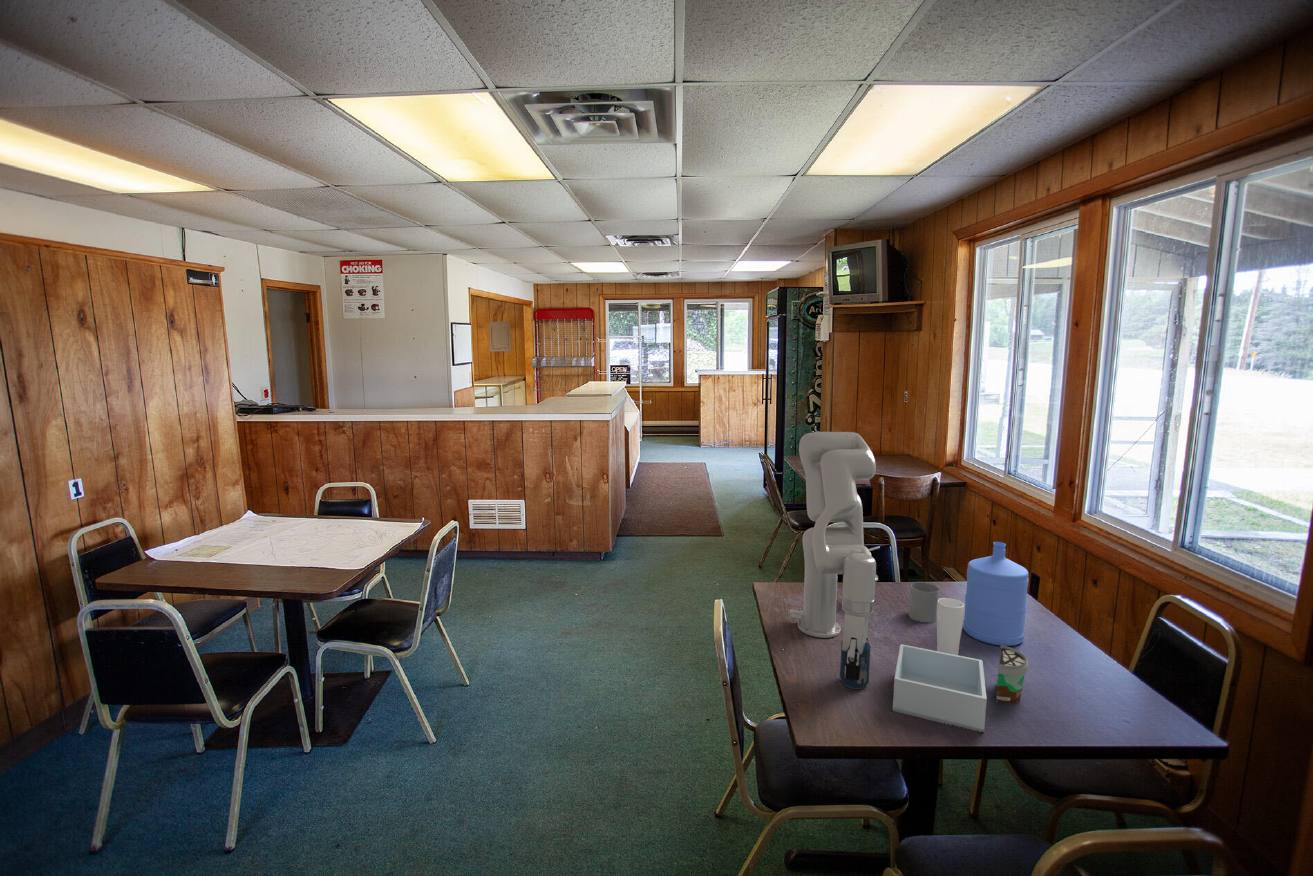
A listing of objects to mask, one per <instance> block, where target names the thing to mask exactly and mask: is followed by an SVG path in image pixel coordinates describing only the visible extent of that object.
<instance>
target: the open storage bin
mask: <svg viewBox="0 0 1313 876" xmlns="http://www.w3.org/2000/svg"><path fill="white" fill-rule="evenodd" d="M894 674H895V675H894V683H893V700H892V712H896V713H900V714H904V715H909V716H912V717H914V718H915V717H917V718H920V719H925V720H928V721H933V722H936V723H941V724H944V723H945V725H948V724H949V725H948V726H952V725H955V726H954V727H956V726H958V727H957V728H960V727H965V728H968V729H967V730H969V729H974V730H981V731H984V732H985V726H986V725H985V724H986V715H987V714H986V712H987V691H986V690H987V689H986V682H985V673H984V664H983V660H982V659H978V658H973V657H968V656H963V655H959V654H958V655H954V654H948V653H943V652H938V651H937V650H932V649H927V648H922V647H917V646H912V645H907V644H902V643H901V644H899V651H898V657H897V662H896V667H895V673H894ZM965 728H964V729H965Z"/></svg>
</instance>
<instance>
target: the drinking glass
mask: <svg viewBox="0 0 1313 876" xmlns="http://www.w3.org/2000/svg"><path fill="white" fill-rule="evenodd" d="M964 616H965V603H963V601H961V600H958V599H955V598H952V597H951V598H950V597H942V598H940V597H939V599H938V601H937V611H936V651H938V652H943V653H948V654H954V655H959V651H960V643H961V638H962V631H963V621H964Z"/></svg>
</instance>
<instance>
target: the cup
mask: <svg viewBox="0 0 1313 876" xmlns="http://www.w3.org/2000/svg"><path fill="white" fill-rule="evenodd" d="M909 585H910V587H909V604H908V605H909V606H908V617H909V616H910V617H911V618H910V617H909V618H910V619H912V618H913V619H915V620H914V621H916V620H918V621H921V622H920V623H923V622H934V623H937V621H936V611H937V601H938V599H940V587H939V586H937V585H935V584H933V583H929V582H923V581H921V582H920V581H916V582H911V584H909ZM913 619H912V620H913ZM918 621H917V622H918Z"/></svg>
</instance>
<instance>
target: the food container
mask: <svg viewBox="0 0 1313 876" xmlns="http://www.w3.org/2000/svg"><path fill="white" fill-rule="evenodd" d="M1029 671H1030V667H1029V661H1028V659H1027V656H1026V655H1025V654H1024V653H1022V652H1021V651H1019V650H1017V649H1016V648H1013V647H1011V646H1010V647H1009V646H1004V645H1001V646H1000V650H999V662H998V672H997V673H998V674H997V683H996V684H997V685H996V686H997V687H996V698H995V702H996V701H998V702H997V703H999V702H1001V703H1000V704H1006V703H1013V704H1016V702H1017V703H1018V701H1019V702H1020V701H1021V699H1020V698H1022V693H1023V687H1024V686H1023V685H1024V680H1025V675H1026V674H1028V672H1029Z"/></svg>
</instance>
